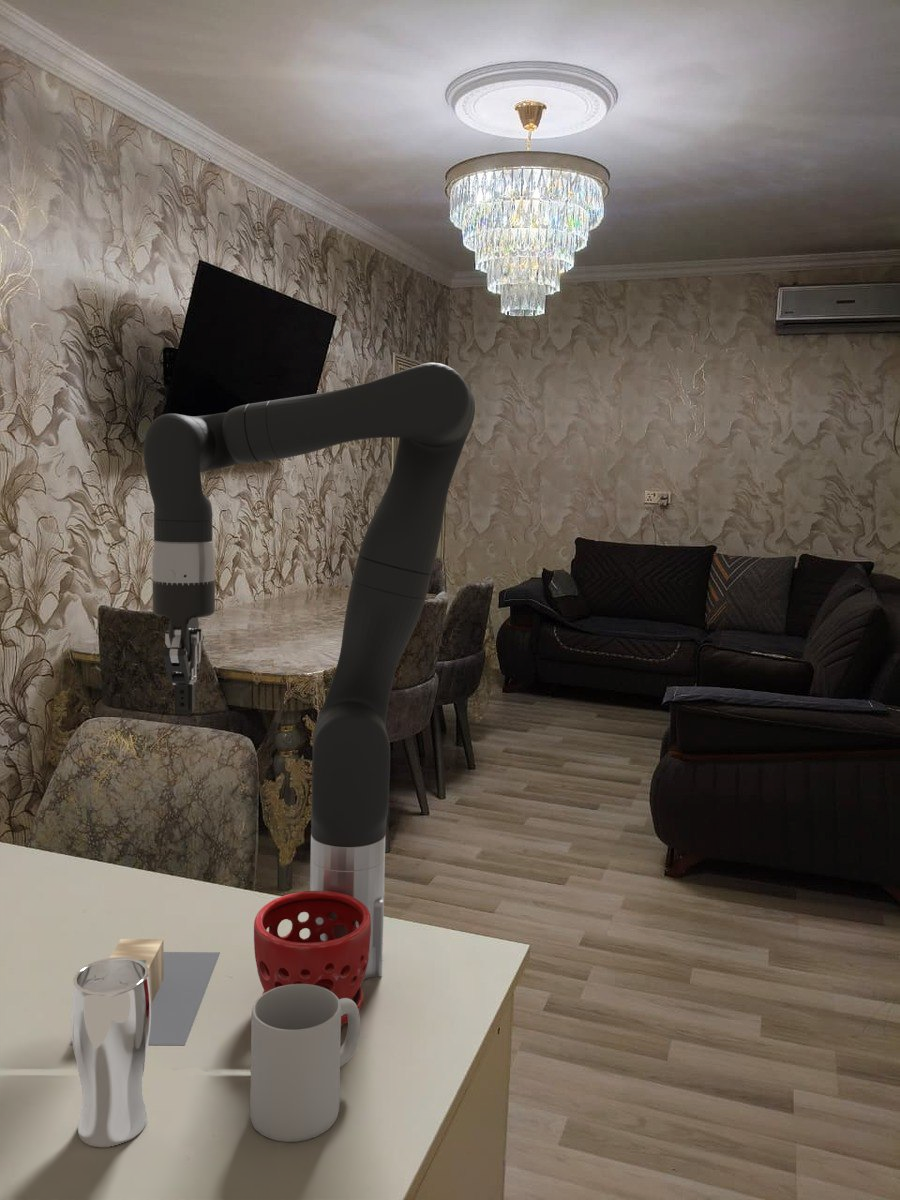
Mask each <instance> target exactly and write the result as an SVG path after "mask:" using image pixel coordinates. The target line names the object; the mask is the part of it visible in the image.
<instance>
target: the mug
mask: <svg viewBox="0 0 900 1200" xmlns="http://www.w3.org/2000/svg"><path fill="white" fill-rule="evenodd" d="M262 994H263V993H262ZM262 994H260V996H259V997H258V998H257V999H256V1000H255V1001H254V1003H253V1006H252V1008H251V1022H250V1023H251V1031H250V1033H251V1034H250V1035H251V1037H250V1038H251V1041H250V1042H251V1044H250V1049H251V1051H250V1093H249V1094H250V1096H249V1097H250V1098H249V1099H250V1100H249V1116H250V1121H251V1124H252V1126H253V1127H254V1129H255V1130H256V1131H257V1133H259V1134H260V1135H262V1136H263V1137H265V1138H267V1139H270V1140H273V1141H276V1142H282V1143H297V1142H303V1141H308V1140H312V1139H314V1138H316V1137H319V1136H321V1135H322V1134H324V1133H325V1132H327V1131H329V1129H330V1128H331V1127H332V1126H333V1125H334V1123H335V1122H336V1120H337V1118H338V1116H339V1112H340V1102H341V1101H340V1099H341V1097H340V1095H341V1093H340V1089H341V1087H340V1079H341V1078H340V1077H341V1076H340V1075H341V1069H340V1068H341V1067H342V1066H344V1065H345V1064H346V1063H347V1062H349V1061H350V1060H351V1059H352V1057H353V1056H354V1055H355V1053H356V1051H357V1047H358V1044H359V1039H360V1034H361V1033H360V1030H361V1017H360V1010H358V1008H357V1005H356V1003H355V1002H354V1001H353V1000H351V999H348V998H342V999H338V997H337V996H336V995H335V994H334V993H333V992H331V991H330V990H328V989H326V988H323V987H320V986H316V985H310V984H291V985H285V986H280V987H277V988H274V989H272V990H269V991H267V992H266V993H264V994H263V995H262ZM344 1014H347V1016H348V1022H347V1030H346V1031H347V1032H346V1036H345V1039H344V1042H343V1044H342V1045H341V1039H342V1037H341V1035H342V1034H341V1029H342V1028H341V1027H342V1026H341V1016H343V1015H344Z"/></svg>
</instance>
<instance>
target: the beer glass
mask: <svg viewBox="0 0 900 1200" xmlns="http://www.w3.org/2000/svg"><path fill="white" fill-rule="evenodd" d="M72 980H73V981H72V985H73V988H72V997H71V1012H70V1013H71V1014H70V1015H71V1017H70V1022H71V1023H70V1025H71V1041H72V1042H73V1045H72V1048H73V1053H74V1058H75V1063H76V1068H77V1072H78V1076H79V1081H80V1082H79V1083H80V1086H81V1108H80V1112H79V1119H78V1125H77V1133H78V1137H79V1139H80V1140H81V1141H82V1142H83V1143H85V1144H86V1145H87V1146H90V1147H95V1148H111V1147H110V1146H112V1147H115V1146H114V1145H117V1146H119V1145H118V1144H120V1145H122V1144H121V1143H123V1144H125V1143H124V1142H126V1143H128V1142H130V1141H131V1140H133V1139H135V1138H136V1137H137V1136H138V1135H139V1134H140V1133H141V1132H142V1131H143V1130H144V1128H145V1127H146V1123H147V1119H148V1117H147V1109H146V1108H147V1107H146V1104H145V1100H144V1094H143V1078H144V1070H145V1065H146V1059H147V1055H148V1051H149V1050H148V1048H149V1045H148V1044H149V1037H150V1030H151V994H150V983H149V969H148V967H147V965H146V964H145V963H144V962H142V961H140V960H137V959H133V958H127V957H115V958H110V957H108V958H104V959H100V960H96V961H93V962H90V963H88V964H87V965H84V966H83V967H82V968H80V969H78V971H77V972H76V973H75V975H74V977H73V979H72ZM129 1140H130V1141H129ZM127 1141H128V1142H127Z"/></svg>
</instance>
